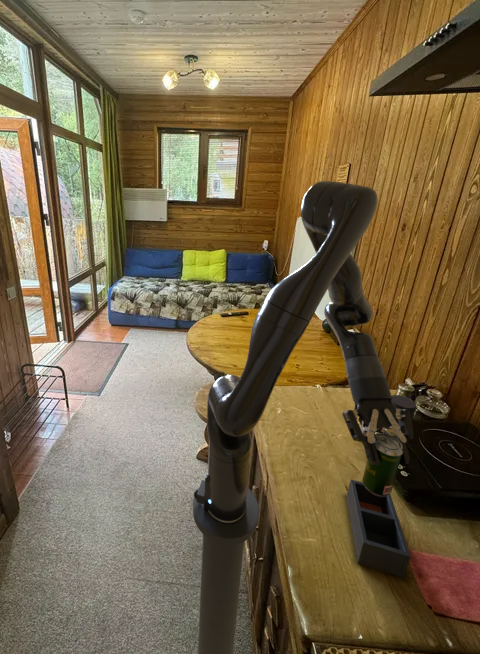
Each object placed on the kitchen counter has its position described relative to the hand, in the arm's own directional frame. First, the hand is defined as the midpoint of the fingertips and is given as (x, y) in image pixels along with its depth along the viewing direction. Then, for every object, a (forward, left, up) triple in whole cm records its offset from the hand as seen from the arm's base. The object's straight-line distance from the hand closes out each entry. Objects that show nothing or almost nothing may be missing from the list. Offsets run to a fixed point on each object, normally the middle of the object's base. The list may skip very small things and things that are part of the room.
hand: (390, 463), depth 61 cm
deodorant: (+10, +28, -17) cm, 35 cm away
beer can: (-1, +2, -8) cm, 9 cm away
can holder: (-1, -2, -17) cm, 17 cm away
